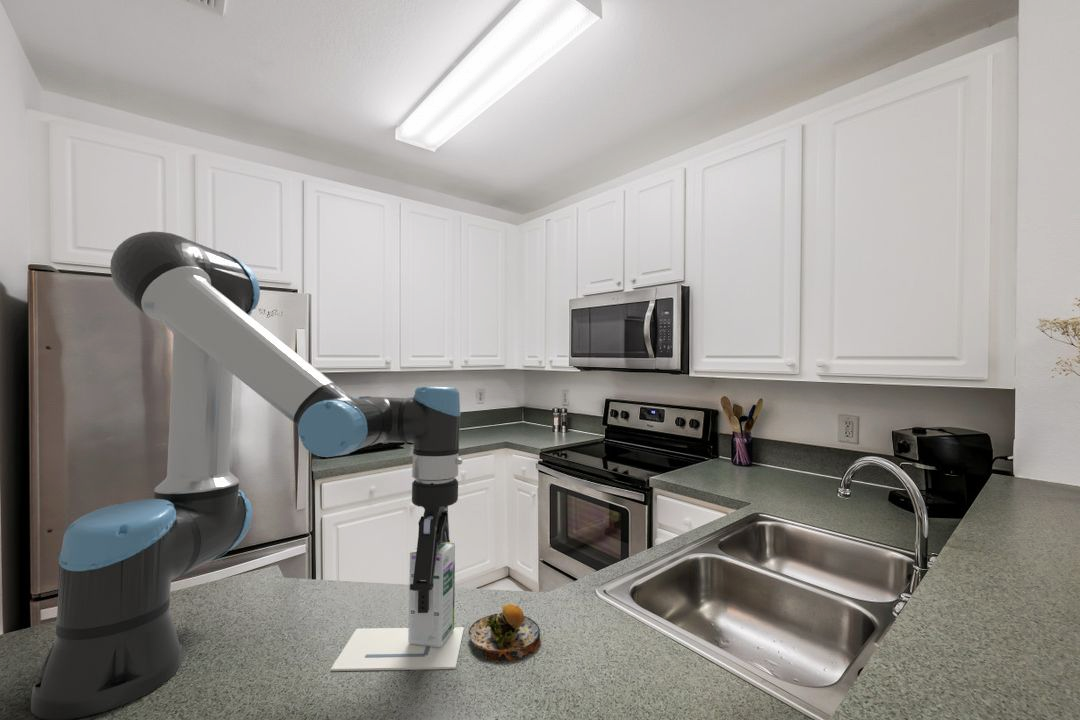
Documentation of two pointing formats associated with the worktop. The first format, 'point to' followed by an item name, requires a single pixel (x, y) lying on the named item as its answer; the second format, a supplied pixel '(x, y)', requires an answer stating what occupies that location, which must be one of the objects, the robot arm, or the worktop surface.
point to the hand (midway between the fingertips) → (432, 609)
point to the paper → (396, 651)
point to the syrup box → (436, 598)
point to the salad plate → (506, 634)
